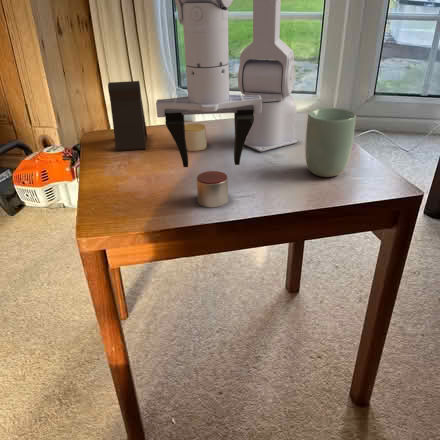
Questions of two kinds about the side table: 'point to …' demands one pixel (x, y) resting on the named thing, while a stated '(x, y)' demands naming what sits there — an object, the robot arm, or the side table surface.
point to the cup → (329, 140)
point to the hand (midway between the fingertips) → (211, 163)
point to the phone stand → (127, 115)
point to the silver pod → (212, 189)
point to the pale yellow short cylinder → (195, 137)
